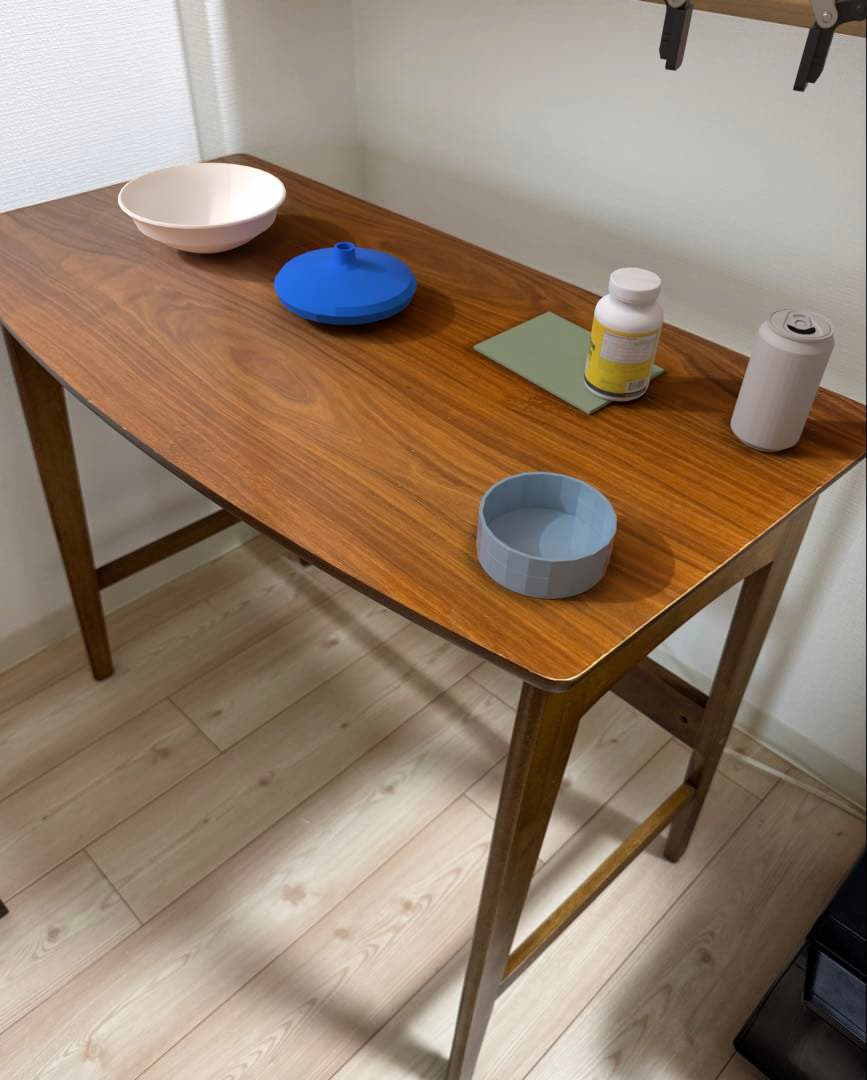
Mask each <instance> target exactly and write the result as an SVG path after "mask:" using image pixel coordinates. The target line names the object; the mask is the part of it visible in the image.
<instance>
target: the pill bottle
mask: <svg viewBox="0 0 867 1080" xmlns="http://www.w3.org/2000/svg"><path fill="white" fill-rule="evenodd" d="M661 289H662V279H661V277H660V276H659V275H657V273H654V272H652V271H650V270H648V269H644V268H640V267H622V268H618V269H616V270H613V272H611V274H610V277H609V283H608V294H606V295H604V296H603V297H601V298H600V299H599V300H598V301H597V303H596V306H595V308H594V314H593V320H592V326H591V331H590V332H591V337H590V343H589V348H588V355H587V360H586V366H585V372H584V382H585V385H586V387H587V388H588V389H589V390H590V391H591V392H592V393H593V394H595V395H597V396H598V397H601V398H603V399H607V400H612V402H628V401H629V402H630V401H633V400H636V399H638V398H640V397H642V396H643V395H644V394H645V393H646V392H647V390H648V388H649V386H650V381H651V380H650V376H651V372H652V367H653V364H654V363H655V358H656V355H657V350H658V346H659V341H660V337H661V334H662V333H661V332H662V329H663V325H664V318H665V312H664V309H663V307H662V305H661V303H660V302H659V301H658V298H659V296H660V294H661Z"/></svg>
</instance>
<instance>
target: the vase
mask: <svg viewBox="0 0 867 1080" xmlns="http://www.w3.org/2000/svg"><path fill="white" fill-rule="evenodd" d="M417 283H418V282H417V277H416V275H414V273H413V271H412V270H411V269H410V268H409V266H408V265H407V264H406V263H405V262H403V261H402V260H401V259H399V258H398V257H396V256H394V255H391V254H389V253H387V252H384V251H380V250H378V249H377V250H376V249H372V248H365V247H357V246H356V245H355V244H354V243H352V242H348V241H342V242H337V243H336V244H334V247H325V248H320V249H315V250H310V251H306V252H304V253H302V254H300V255H297V256H295V257H293V258H292V259H290V260H289V261H287V262H286V263H285V264H284V265H283V267H282V268H281V269H280V270H279V272H278V273H277V274H276V275H275V277H274V282H273V284H274V285H273V288H274V289H275V292H276V294H277V296H278V299H279V301H280V303H281V305H283V306H284V308H286V310H288V311H289V312H291V313H293V314H294V315H295V316H296V315H297V316H298V317H300V318H303V319H306V320H310V321H314V322H317V323H321V324H327V325H328V324H329V325H334V326H335V325H336V326H355V325H364V324H369V323H374V322H378V321H381V320H385V319H388V318H390V317H392V316H394V315H396V314H399V313H400V312H402V311H403V310H404V309H406V308H407V307H408V306H409V305H410V304H411V301H412V299H413V298H414V295H415V293H416V290H417V286H418V284H417Z"/></svg>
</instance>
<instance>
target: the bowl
mask: <svg viewBox="0 0 867 1080" xmlns="http://www.w3.org/2000/svg"><path fill="white" fill-rule="evenodd" d="M286 198H287V190H286V187H285V184H284V183H283V182H282V181H281V180H280V179H279V177H276V176H275V175H273V174H271V173H270V172H267V171H265V170H262V169H260V168H256V167H252V166H248V165H241V164H235V163H225V162H224V163H223V162H197V163H195V162H194V163H185V164H176V165H172V166H167V167H161V168H157V169H155V170H152V171H149V172H146V173H143V174H141V175H139V176H136V177H134V178H133V179H131V180H130V181H128V182H127V183H126V184H125V185H123V187H121V189H120V191H119V193H118V195H117V202H118V206H119V207H120V209H121V211H123V212H124V213H125V214H126V215H128V216H129V217H130V218H131V219H132V220H133V222H134V224H135V225H136V227H137V229H138V230H139V232H141V233H142V234H143V235H145V236H146V237H148V238H151V239H152V240H155V241H158V242H160V243H162V244H164V245H167V246H168V247H170V248H173V249H176V250H179V251H184V252H189V253H193V254H216V253H224V252H227V251H230V250H233V249H235V248H238V247H240V246H243V245H245V244H247V243H249V242H251V241H252V240H254V239H255V238H256V237H257V236H259V235H260V234H262V233H263V232H265V231H267V230H268V229H269V228H270V227H271V226H272V225H273V224H274V222H275V221H276V217H277V213H278V210H279V207H281V205H283V203H284V201H285V200H286Z"/></svg>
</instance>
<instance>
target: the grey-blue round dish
mask: <svg viewBox="0 0 867 1080" xmlns="http://www.w3.org/2000/svg"><path fill="white" fill-rule="evenodd" d="M617 523H618V517H617V514H616V512H615V509H614V507H613V505H612V503H611V501H610V500H609V499H608V498H607V497H606V496H605V495H604V494H603V493H602V492H601V491H600V490H599V489H597V488H595V487H594V486H593V485H590V484H589V483H587V482H586V481H584V480H582V479H578V478H576V477H572V476H569V475H567V474H564V473H557V472H556V473H555V472H551V471H550V472H549V471H530V472H529V471H528V472H527V471H526V472H521V473H517V474H514V475H510V476H507V477H504V478H502V479H501V480H499V481H498V482H496V483H494V484H493V485H491V486H490V487H489V488H488V489H487V491H486V492H485V493H484V494H483V496H482V497H481V499H480V506H479V509H478V516H477V529H476V539H475V547H476V557H477V559H478V561H479V564H480V565H481V567H482V569H483V570H484V572H485V573H486V574H487V576H489V578H491V579H492V580H494V582H496V583H497V584H498V585H500V586H502V587H504V588H505V589H507V590H510V591H511V592H514V593H517V594H519V595H523V596H526V597H529V598H530V597H531V598H536V599H544V600H547V599H548V600H553V599H554V600H556V599H565V598H570V597H574V596H577V595H580V594H583V593H584V592H585V593H586V592H587V591H589V590H590V589H592V588H593V587H595V586H596V585H597V584H598V583H599V582H600V581H601V580H602V578H603V577H604V576H605V574H606V572H607V569H608V566H609V565H610V560H611V556H612V551H613V547H614V544H615V543H614V542H615V538H616V534H617Z"/></svg>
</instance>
